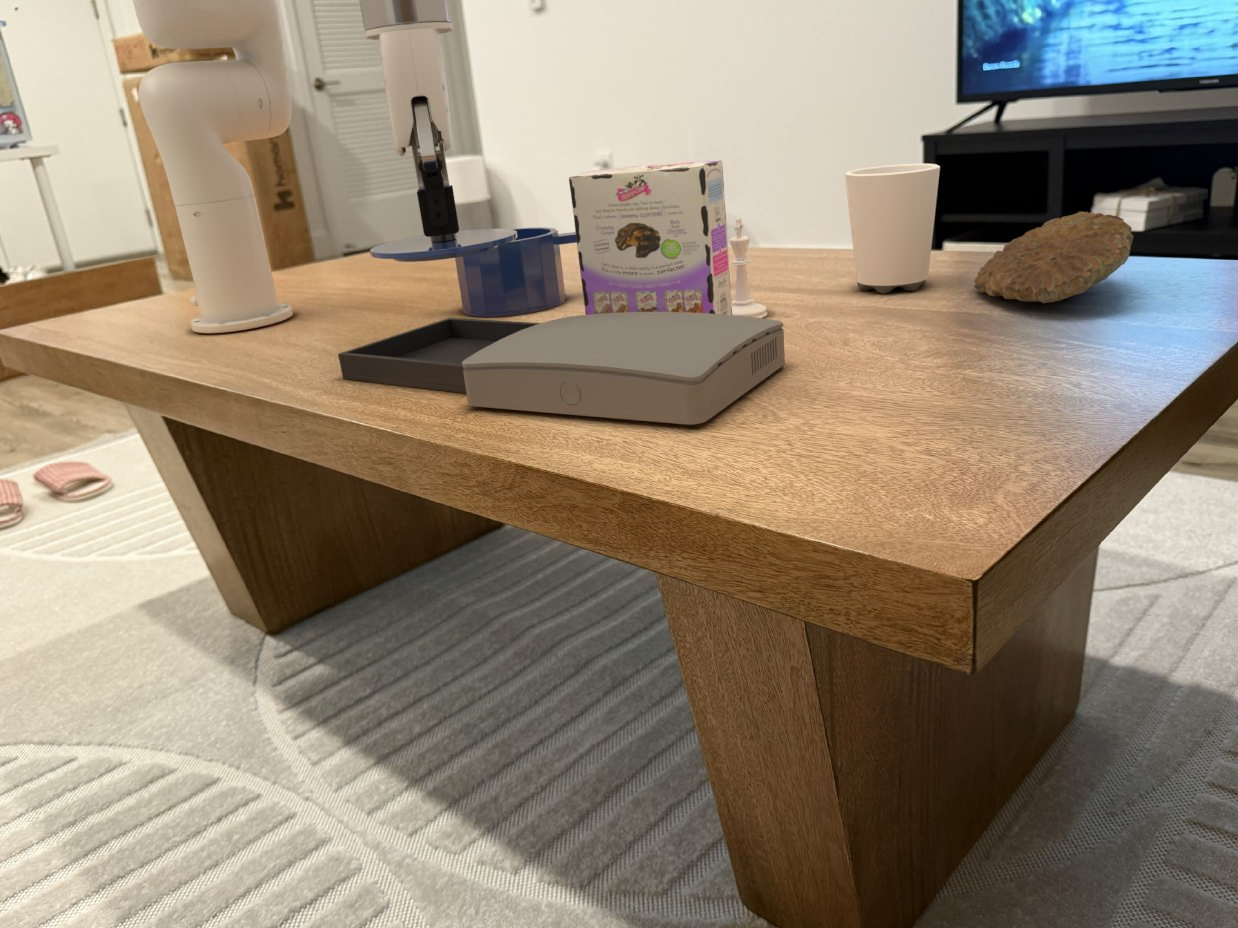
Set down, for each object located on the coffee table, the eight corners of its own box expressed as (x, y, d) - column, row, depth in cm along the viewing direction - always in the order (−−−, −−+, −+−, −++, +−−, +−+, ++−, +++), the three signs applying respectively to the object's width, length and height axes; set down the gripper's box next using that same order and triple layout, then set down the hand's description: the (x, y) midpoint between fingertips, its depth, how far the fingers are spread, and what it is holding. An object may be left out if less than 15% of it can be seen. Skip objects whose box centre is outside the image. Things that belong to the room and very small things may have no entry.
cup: (950, 291, 105) (952, 167, 100) (857, 300, 105) (855, 177, 101) (924, 275, 114) (925, 161, 110) (839, 283, 115) (836, 170, 110)
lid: (376, 252, 97) (364, 189, 95) (513, 235, 99) (504, 172, 97) (367, 272, 85) (353, 199, 83) (523, 252, 86) (514, 180, 84)
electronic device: (585, 350, 96) (579, 299, 95) (796, 360, 85) (794, 303, 84) (462, 409, 81) (453, 350, 79) (700, 430, 70) (695, 363, 68)
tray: (342, 378, 95) (337, 353, 94) (452, 340, 106) (449, 317, 106) (472, 394, 85) (468, 366, 84) (578, 350, 97) (575, 325, 96)
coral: (990, 260, 109) (1105, 162, 99) (1045, 323, 108) (1167, 230, 98) (925, 299, 96) (1051, 189, 85) (988, 371, 94) (1123, 268, 84)
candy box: (735, 330, 98) (725, 158, 92) (715, 345, 93) (703, 164, 87) (610, 329, 104) (593, 167, 98) (585, 343, 99) (566, 174, 93)
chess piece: (714, 321, 102) (708, 224, 99) (727, 311, 107) (722, 216, 103) (760, 321, 100) (755, 221, 97) (772, 310, 105) (768, 214, 101)
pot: (441, 305, 126) (430, 238, 123) (579, 287, 129) (572, 221, 126) (441, 325, 115) (429, 251, 112) (593, 305, 117) (585, 232, 114)
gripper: (369, 29, 92) (404, 229, 98) (355, 11, 77) (397, 248, 83) (449, 21, 93) (479, 220, 99) (451, 2, 78) (486, 237, 84)
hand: (441, 231), depth 91 cm, fingers closed on lid, 2 cm apart
